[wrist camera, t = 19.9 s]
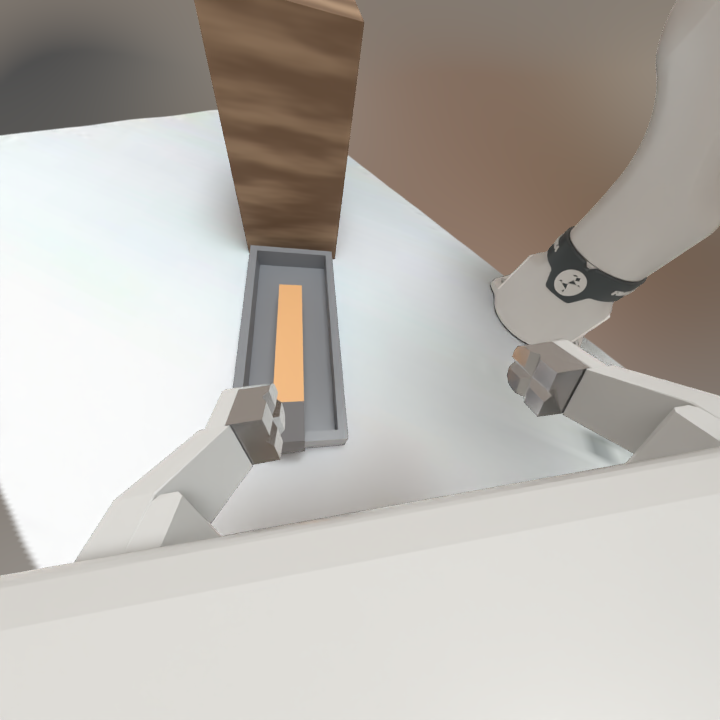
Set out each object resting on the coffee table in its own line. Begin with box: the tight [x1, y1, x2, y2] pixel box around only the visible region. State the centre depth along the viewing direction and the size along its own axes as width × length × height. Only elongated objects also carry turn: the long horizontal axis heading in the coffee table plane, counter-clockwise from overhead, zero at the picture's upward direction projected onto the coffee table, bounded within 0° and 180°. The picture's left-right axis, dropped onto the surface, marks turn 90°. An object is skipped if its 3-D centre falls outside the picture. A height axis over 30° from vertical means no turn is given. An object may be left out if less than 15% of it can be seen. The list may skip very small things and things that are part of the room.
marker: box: [274, 284, 305, 453], centre depth 31 cm, size 22×3×3 cm, turn 6°
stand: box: [194, 0, 364, 259], centre depth 36 cm, size 16×14×26 cm
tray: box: [233, 245, 348, 448], centre depth 35 cm, size 29×12×4 cm, turn 6°
